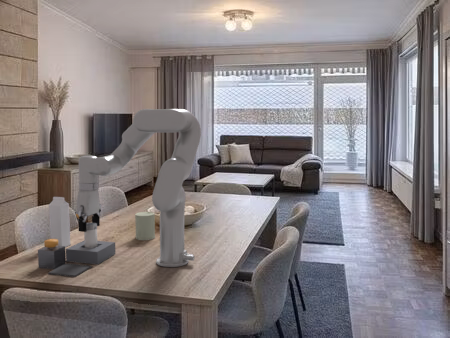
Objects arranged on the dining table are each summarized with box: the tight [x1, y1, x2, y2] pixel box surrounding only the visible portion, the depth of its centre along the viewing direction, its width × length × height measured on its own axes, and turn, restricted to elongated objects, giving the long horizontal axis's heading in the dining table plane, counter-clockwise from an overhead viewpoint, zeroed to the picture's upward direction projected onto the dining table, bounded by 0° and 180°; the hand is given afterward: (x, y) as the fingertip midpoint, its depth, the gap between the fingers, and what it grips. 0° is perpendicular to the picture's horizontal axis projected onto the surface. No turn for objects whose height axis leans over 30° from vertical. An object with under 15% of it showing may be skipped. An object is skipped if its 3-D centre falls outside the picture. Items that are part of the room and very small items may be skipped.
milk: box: [48, 196, 71, 248], centre depth 201 cm, size 6×6×22 cm
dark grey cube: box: [37, 246, 67, 270], centre depth 175 cm, size 7×7×7 cm
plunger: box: [43, 238, 58, 249], centre depth 175 cm, size 5×5×8 cm
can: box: [134, 211, 156, 241], centre depth 215 cm, size 9×9×12 cm
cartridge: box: [83, 221, 98, 248], centre depth 185 cm, size 5×5×14 cm
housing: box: [65, 240, 117, 265], centre depth 185 cm, size 14×14×5 cm
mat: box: [48, 262, 93, 278], centre depth 170 cm, size 11×11×1 cm
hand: (89, 228), depth 184 cm, fingers open, 9 cm apart
